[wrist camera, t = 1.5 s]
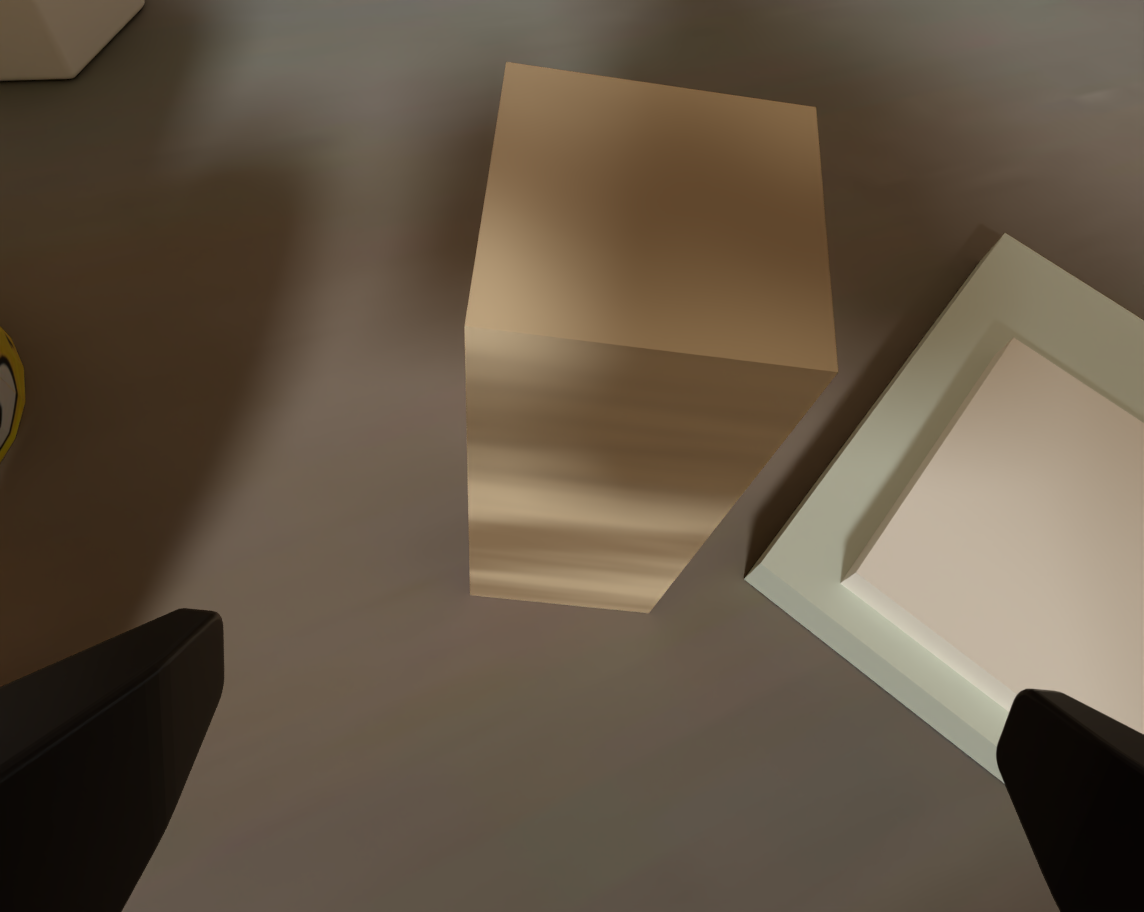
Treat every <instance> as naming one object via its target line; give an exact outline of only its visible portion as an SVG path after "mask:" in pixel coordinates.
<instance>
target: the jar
mask: <svg viewBox="0 0 1144 912" xmlns="http://www.w3.org/2000/svg"><path fill="white" fill-rule="evenodd" d="M144 4H145V0H0V81H14V80H48V79H71V78H74V77H76V76H77V75H78V74H79V73H80V71H81V70H82V69H83V68H84V67H85V66H86V65H87V64H88V63H89V62H90V61H91V60H92V59H93V58H94V57H95V56H96V55H97V54H98V53H99V52H100V51H101V50H102V49H103V48H104V47H105V46H106V45H107V44H108V43H109V42H110V40H111V39H112V38H113V37H114V36H115V35H116V34H117V33H118V32H119V31H120V30H121V29H122V28H123V27H124V26H125V25H126V24H127V23H128V22H129V21H130V20H131V19H132V18H133V17H134V16H135V15H136V14H137V13H138V12H139V11H140V10H141V8H142V7H143V6H144Z"/></svg>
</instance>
